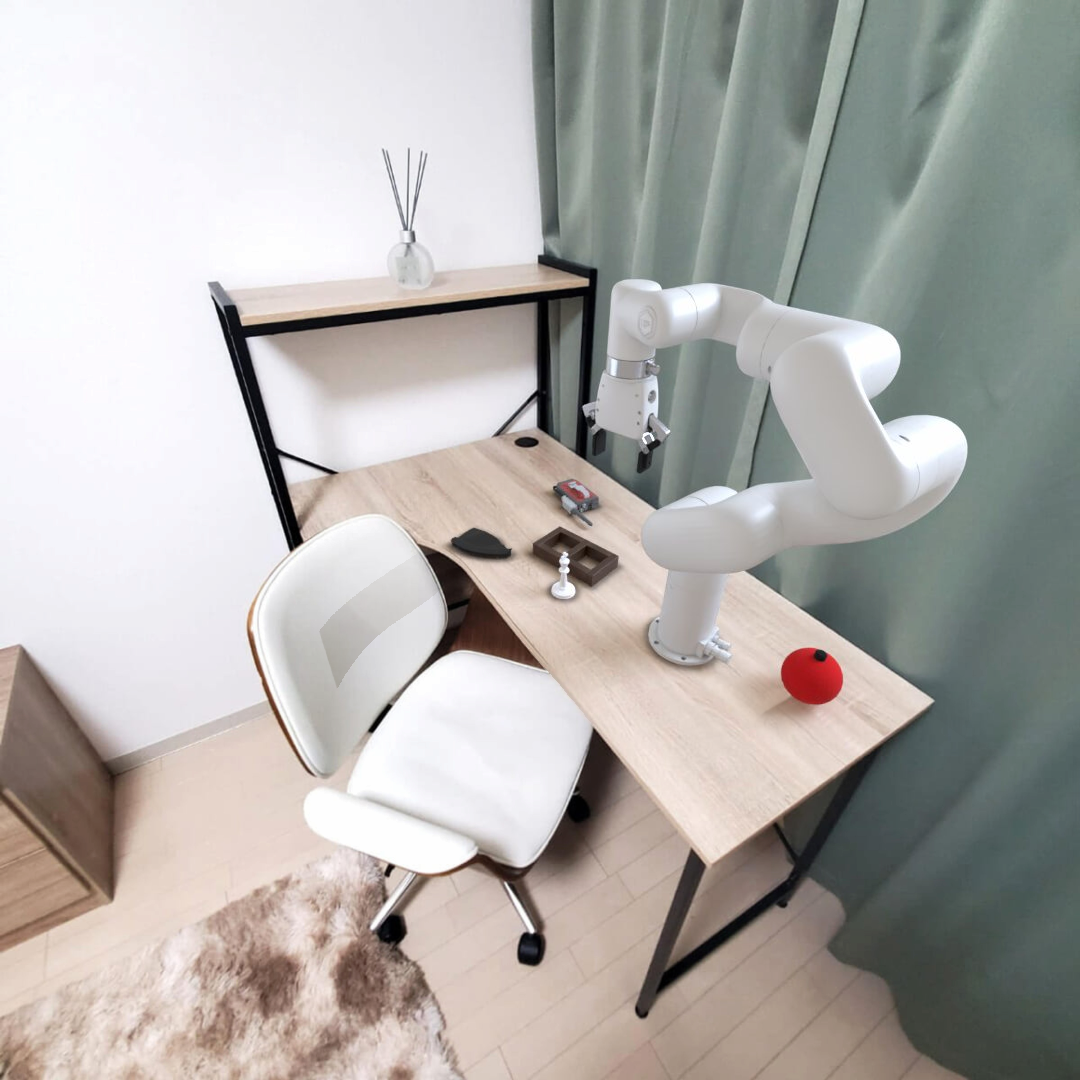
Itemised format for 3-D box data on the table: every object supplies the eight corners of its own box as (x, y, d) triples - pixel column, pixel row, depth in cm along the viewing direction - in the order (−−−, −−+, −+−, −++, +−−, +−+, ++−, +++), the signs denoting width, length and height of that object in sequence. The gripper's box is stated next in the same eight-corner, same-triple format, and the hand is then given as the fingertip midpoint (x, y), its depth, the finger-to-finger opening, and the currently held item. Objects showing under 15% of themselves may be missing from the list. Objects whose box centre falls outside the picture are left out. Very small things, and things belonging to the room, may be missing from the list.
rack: (617, 566, 116) (618, 555, 114) (591, 587, 110) (592, 576, 108) (559, 536, 125) (559, 526, 123) (532, 554, 119) (532, 543, 118)
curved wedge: (493, 569, 115) (493, 563, 114) (449, 546, 122) (448, 540, 121) (518, 550, 120) (517, 544, 119) (474, 529, 127) (474, 524, 126)
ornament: (766, 696, 88) (782, 655, 82) (785, 664, 93) (801, 623, 88) (823, 726, 83) (844, 685, 77) (839, 690, 89) (860, 649, 83)
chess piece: (580, 590, 109) (582, 552, 103) (564, 602, 106) (566, 563, 100) (562, 580, 112) (563, 542, 106) (546, 591, 109) (546, 553, 103)
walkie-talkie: (545, 493, 141) (587, 531, 126) (545, 479, 138) (588, 515, 124) (573, 485, 144) (617, 521, 130) (574, 471, 141) (619, 505, 127)
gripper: (689, 372, 82) (673, 470, 92) (600, 349, 92) (594, 440, 102) (663, 384, 78) (649, 486, 88) (573, 359, 87) (569, 453, 97)
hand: (620, 461), depth 95 cm, fingers open, 9 cm apart
